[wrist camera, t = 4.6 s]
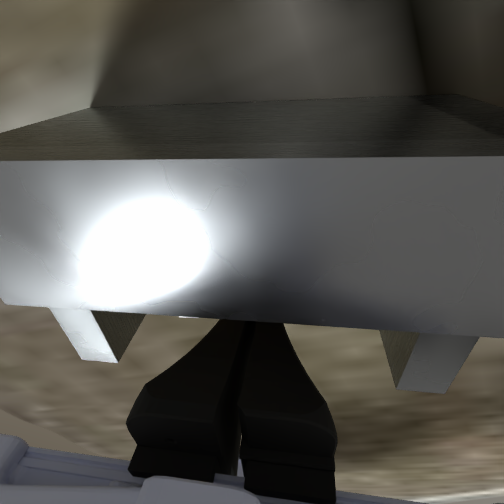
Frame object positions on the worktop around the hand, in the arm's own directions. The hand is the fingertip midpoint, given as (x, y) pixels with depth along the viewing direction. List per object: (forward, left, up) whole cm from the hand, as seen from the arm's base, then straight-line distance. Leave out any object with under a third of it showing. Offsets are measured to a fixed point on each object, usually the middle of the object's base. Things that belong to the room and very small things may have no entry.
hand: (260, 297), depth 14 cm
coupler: (+4, 0, -1) cm, 4 cm away
